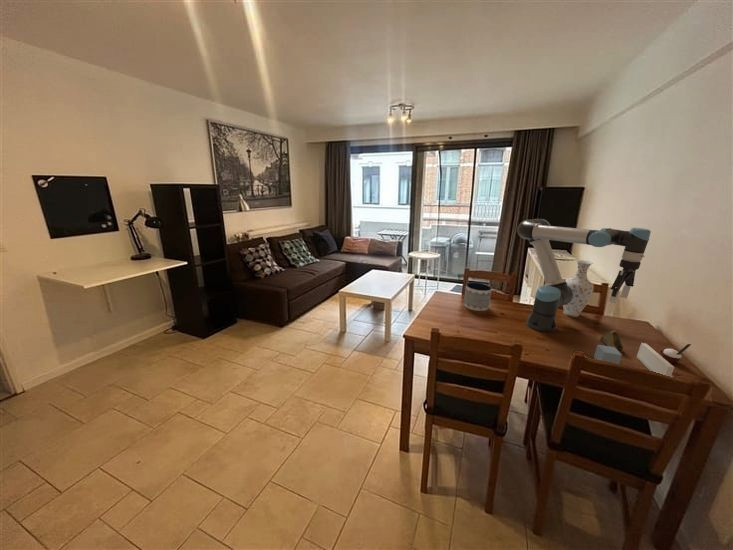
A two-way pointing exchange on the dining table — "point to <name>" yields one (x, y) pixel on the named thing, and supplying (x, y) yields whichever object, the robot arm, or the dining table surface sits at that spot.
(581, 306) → the vase
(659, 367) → the board
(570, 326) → the dining table surface
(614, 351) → the block
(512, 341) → the dining table surface
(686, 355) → the dining table surface
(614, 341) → the rock
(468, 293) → the planter
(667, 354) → the cocoa
